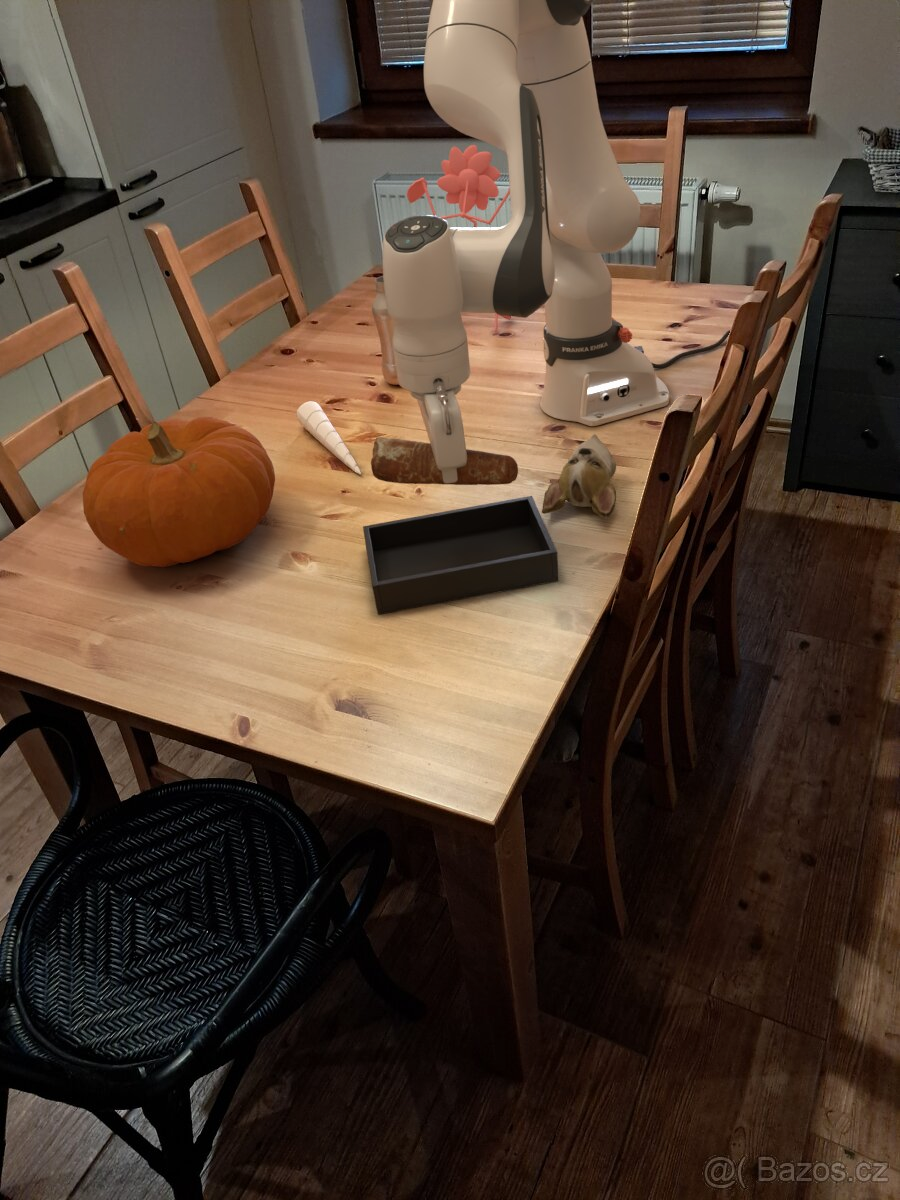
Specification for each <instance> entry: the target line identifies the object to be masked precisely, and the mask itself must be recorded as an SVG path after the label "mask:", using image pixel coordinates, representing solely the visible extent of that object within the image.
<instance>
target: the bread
mask: <svg viewBox="0 0 900 1200" xmlns="http://www.w3.org/2000/svg"><path fill="white" fill-rule="evenodd" d="M466 452H467V463H466V465H465V466H463V467H459V468H457V478H458V479H457V481H456V482H454V483H448V484H446V483H444V481H443V478H442V472H441V470H439V469H438V467H437V464H436V461H435V458H434V454H433V451H432V448H431V444H430V442H422V441H417V440H408V439H401V438H389V437H382V436H377V437H376V438H375V441H374V442H373V448H372V458H371V460H370V466H371V472H372V475H373V476H374V478H375V479H377V480H378V481H382V482H387V483H394V484H403V485H404V484H411V485H451V486H452V485H453V486H478V485H479V486H480V485H481V486H482V485H483V486H485V485H486V486H491V485H493V486H494V485H496V486H497V485H509V484H512V483H513V482H515V481H516V480H517V478H518V474H519V466H518V463H517V461H516V459H515V458H513V457H512V456H511V455H507V454H498V453H494V452H493V453H491V452H487V451H483V450H482V451H481V450H474V449H467V448H466Z"/></svg>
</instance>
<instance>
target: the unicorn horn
mask: <svg viewBox="0 0 900 1200" xmlns="http://www.w3.org/2000/svg"><path fill="white" fill-rule="evenodd" d="M296 419H297V422H298V423H299V424H300V426H302V427H303V428H304V429H305V430H306V431H307V432H308V433H309V434H310V435H312V437H314V438H315V439H316V440H317V441H318V442H319V443H320V444H321V445H322V446H323V447H324V448H325V449H327V450H328V451H329V452H330V453H331V454H332V455H333V456H334V457H336V459H338V460H339V461H341V463H343V464H344V465H345V466H346V467H348V468H349V469H350V470H351V471H353V472H355V473H356V474H358V475H361V474H362V472H361V469H360V467H359V466H358V463H357V462H356V460H355V459H354V457H353V455H352V453H351V452H350V450H349V449H348V447H347V446H346V444H345V442H344V441H343V439H342V438H341V436H340V434H339V433H338V431H337V429H335V427H334V425H333V424H332V422H331V421H330V419H329V418H328V416H327V415H326V413H325V411H324V410H323V409H322V407H321V405H320V404H319V403H317V402H316V401H311V400H310V401H306V402H303V403H301V405H300V406H298V409H297V410H296Z"/></svg>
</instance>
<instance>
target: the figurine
mask: <svg viewBox="0 0 900 1200" xmlns="http://www.w3.org/2000/svg"><path fill="white" fill-rule="evenodd" d="M492 157H493V156H492V154H491V152H489V151H487V150H485V151H479V152H478V146H477V145H476V144H470V145H469V146H468V147H466V148H465V149H464V151H463V152H462V151H461V149H460V148H459V147H457V146H452V147H451V149H450V151H449V154H448V159H442V161H441V170H442V172H443V174H444V176H441V177H439V178H438V179H437V181H436V184H437V186H438V188H440V189H441V190H442V191H444V192H445V193H446V195H445V201H446V203H447V204H449V205H456V204H458V209H459V210H460V212H459V213H454V214H448V215H444V216H439V217H440V218H442V219H444V220H446V219H453V218H457V217H461V218H462V219H466V220H468V221H469V222H471V223H473V227H472V228H477V227H478V222H480V223H484V224H486V225H491V224H492V223H493V221H494V220H495V218H496V217H497V215H498V214H499V212H500V211H501V209H502V207H503V206H504V204H505V202H506V201H507V199H508V197H510V187H508V189H507V190H508V191H507V192H506V194H505V195H504V197H503V198H502V200H501V201H500V203H499V205H498V207H497V208H496V210H495V211H494V213H493V214H492V216H491V218H490V220H487V219H484V218H480V217H477V216H473V215H471V214H468V213H470V211H472V209H473V208H474V206H476V208H477V209H478V210H480V211H486V210H487V208H488V205H489V198H493V199H494V198H497V197H498V196H499V193H500V192H499V188H498V185H497V184H496V182H495V181H497V180H498V179H500V178H501V172H500V170H499V169H497V167H495V166H493V165H490V164H491V161H492ZM406 191H407V192H406V197H407V200H408V202H409V203H410V204H413V203H415V202H416V201H418V200H419V199H421V198H422V197H423V196H424V195H425V196H426V199H427V201H428V204H429V207H430V209H431V213H432V215H434V216H437V213H436V211H435V208H434V204H433V201H432V199H431V196H430V194H429V193H430V192H429V191H428V182H427V180H426V179H425V178H424V177H421V178H419V179H416V180H415V181H414V182H412V184H410V185H409V187H408V189H407V190H406ZM499 316H500V317H502V318H503V319H506V320H508V321H511V318H512V316H505V315H498V314H496V313H494V332H495V333H497V332H498V325H499V323H498V322H499V321H498V320H499V319H498V317H499ZM521 332H522V333H524V330H523V331H521Z"/></svg>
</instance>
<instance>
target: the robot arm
mask: <svg viewBox="0 0 900 1200" xmlns="http://www.w3.org/2000/svg"><path fill="white" fill-rule="evenodd" d="M593 1H594V0H428V6H429V11H430V13H429V19H428V25H427V33H426V41H425V47H424V48H425V50H424V59H423V85H424V86H423V87H424V92H425V95H426V97H427V100H428V102H429V104H430V106H431V108H432V109H433V110H434V112H435V113H436V114H437V115H438V116H439V118H440V119H442V120H443V121H444V122H445V123H446V124H447V125H449V126H450V127H452V128H453V129H455V130H457V131H458V132H460V133H461V134H464V135H465V136H469V137H472V138H474V139H477V140H480V141H482V142H485V143H487V144H489V145H492V146H493V147H495V148H497V149H499V150H500V151H502V152H503V153H505V155H506V157H507V170H508V186H509V187H510V194H509V201H510V203H509V204H510V219H509V221H508V222H507V223H506V224H505V225H503V226H500V227H499V226H498V227H476V228H473V227H457V226H456V227H450V225H449V223H448V221H447V220H446V219H442V218H440V217H441V216H439V215H438V216H437V215H436V216H434V215H433V214H418V215H412V216H409V217H406V218H403V219H401V220H398V221H397V222H395V223H394V224H392V225H391V226H390V227H389V228H388V229H387V230H386V232H385V233H384V235H383V241H382V276H383V280H384V290H385V299H386V306H387V311H388V314H389V316H390V318H391V320H392V323H393V338H392V345H393V351H394V358H395V365H396V371H397V378H398V383H399V384H398V385H399V386H400V387H401V388H402V389H404V390H406V391H409V394H410V396H411V397H412V398H414V399H415V400H417V401H416V402H417V404H418V407H419V410H420V413H421V417H422V421H423V423H424V428H425V430H426V434H427V437H428V440H429V443H430V444H431V448H432V451H433V454H434V458H435V461H436V464H437V467H438V469H439V470H441V472H442V478H443V481H444V483H446V484H445V485H449V484H448V483H454V482H456V481H457V479H458V478H457V468H459V467H463V466H465V465H466V463H467V452H466V449H467V445H466V437H465V431H464V424H463V415H462V412H461V408H460V405H459V402H458V399H457V395H458V394H459V393H460V392H461V390H462V387H463V386H462V385H463V384H465V383H466V382H467V381H468V379H470V376H471V364H470V363H471V362H470V354H469V345H468V343H469V342H468V334H467V333H468V332H467V330H466V327H465V324H464V322H463V319H462V318H463V317H462V316H463V315H462V314H495V313H496V314H498V316H500V315H505V316H511V317H514V318H521V319H523V318H526V319H527V318H528V317H530V316H531V315H532V314H534V313H536V312H537V311H538V310H539V309H540V308H541V307H543V306H544V317H545V325H544V327H543V337H542V348H543V358H544V361H545V375H544V383H543V390H542V394H541V395H542V396H541V398H540V403H539V407H540V409H541V410H542V411H543V412H544V413H545V414H546V415H548V416H550V417H551V418H554V419H558V420H561V421H566V422H567V421H568V422H576V423H579V424H582V425H585V426H589V427H597V426H601V425H604V424H608V423H611V422H615V421H618V420H621V419H626V418H629V417H632V416H636V415H639V414H643V413H647V412H650V411H653V410H656V409H660V408H663V407H666V406H668V405H669V403H670V399H671V398H670V391H669V389H668V386H667V385H666V384H665V382H664V381H662V379H661V378H660V377H658V376H657V375H656V371H655V369H657V370H658V369H665V368H667V367H669V366H671V365H672V364H674V363H676V362H677V361H678V360H681V359H682V358H685V357H689V356H692V355H696V354H701V353H706V352H708V351H712V350H715V349H716V348H718V347H720V346H721V345H722V344H723V343H724V342H725V341H726V340H727V338H728V337H729V336H730V335H729V333H730V330H731V329H729V330H727V331H726V332H725V333H724V334H723V335H722V337H721V338H720V339H719V340H718V341H717V342H714V343H712V344H711V345H707V346H704V347H700V348H694V349H690V350H687V351H684V352H681V353H679V354H677V355H675V356H674V357H671V358H670V359H669V360H667V361H666V362H663V363H653V362H652V361H651V360H650V359H649V357H648V356H647V355H646V354H645V351H644V348H643V346H642V345H637V346H633V345H631V344H629V342H631V340H632V339H633V333H632V332H631V331H630V329H629V328H628V327H624V325H623V324H622V323H621V322H619V321H617V320H616V319H615V318H613V290H612V289H613V285H612V284H613V280H612V276H611V272H610V270H609V269H608V267H607V265H606V263H605V261H604V258H603V256H602V254H613V253H616V252H618V251H620V250H622V249H624V248H625V247H626V246H627V245H628V244H629V243H630V242H631V241H632V239H633V238H634V237H635V235H636V233H637V231H638V229H639V226H640V223H641V213H642V212H641V204H640V200H639V198H638V196H637V195H636V193H635V191H634V190H633V189H632V188H631V186H630V185H629V183H628V182H627V180H626V179H625V177H624V176H623V173H622V172H621V169H620V167H619V164H618V162H617V161H618V160H617V159H616V156H615V154H614V151H613V149H612V146H611V144H610V141H609V138H608V136H607V133H606V130H605V126H604V123H603V120H602V116H601V112H600V107H599V102H598V101H599V100H598V95H597V88H596V82H595V78H594V77H595V76H594V69H593V64H592V56H591V50H590V45H589V39H588V35H587V30H586V26H585V23H584V18H583V16H584V15H586V13H587V12H588V10H589V9H590V7H591V5H592V3H593ZM509 187H508V188H509ZM728 335H729V336H728Z"/></svg>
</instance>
